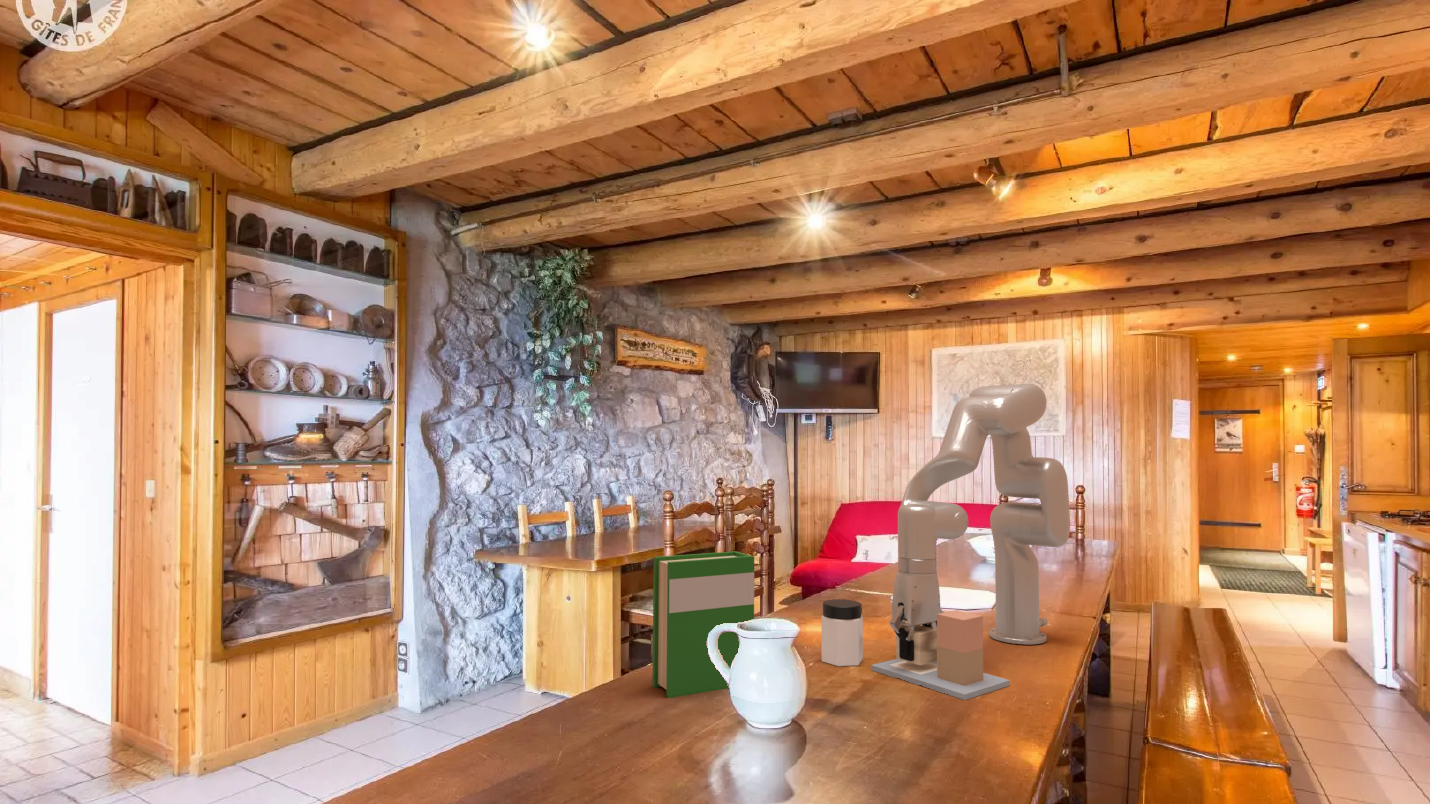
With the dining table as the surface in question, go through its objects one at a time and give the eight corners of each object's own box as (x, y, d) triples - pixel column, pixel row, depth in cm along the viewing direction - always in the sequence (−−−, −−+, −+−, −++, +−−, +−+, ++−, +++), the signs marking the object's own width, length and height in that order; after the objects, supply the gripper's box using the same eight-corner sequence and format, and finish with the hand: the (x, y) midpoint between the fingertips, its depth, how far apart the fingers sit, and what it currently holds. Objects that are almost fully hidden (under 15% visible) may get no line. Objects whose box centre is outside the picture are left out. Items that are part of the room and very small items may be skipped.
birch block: (915, 653, 159) (915, 624, 159) (939, 660, 154) (939, 629, 155) (896, 658, 156) (895, 628, 156) (920, 665, 151) (920, 634, 151)
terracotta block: (956, 641, 151) (956, 610, 152) (983, 647, 146) (982, 615, 147) (937, 645, 148) (936, 614, 148) (964, 652, 143) (963, 620, 143)
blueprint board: (916, 658, 164) (916, 625, 164) (1009, 685, 146) (1009, 648, 146) (871, 670, 155) (871, 634, 156) (964, 700, 138) (964, 660, 138)
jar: (871, 662, 161) (871, 604, 162) (845, 669, 156) (845, 609, 156) (839, 652, 168) (839, 597, 168) (813, 659, 163) (813, 601, 163)
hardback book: (668, 698, 138) (669, 562, 139) (652, 686, 145) (653, 557, 146) (753, 684, 146) (754, 556, 147) (735, 673, 153) (735, 551, 154)
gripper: (929, 560, 164) (929, 645, 163) (873, 567, 154) (874, 659, 153) (959, 564, 158) (960, 654, 157) (903, 573, 148) (904, 668, 147)
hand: (917, 655), depth 155 cm, fingers closed on birch block, 6 cm apart
